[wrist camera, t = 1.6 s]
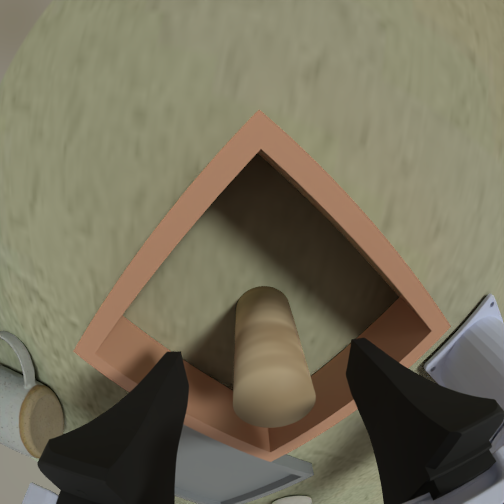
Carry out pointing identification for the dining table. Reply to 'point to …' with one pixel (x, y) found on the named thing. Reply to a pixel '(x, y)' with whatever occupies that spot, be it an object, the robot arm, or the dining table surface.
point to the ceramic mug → (26, 406)
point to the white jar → (294, 500)
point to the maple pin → (269, 362)
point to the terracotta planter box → (324, 380)
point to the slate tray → (230, 472)
